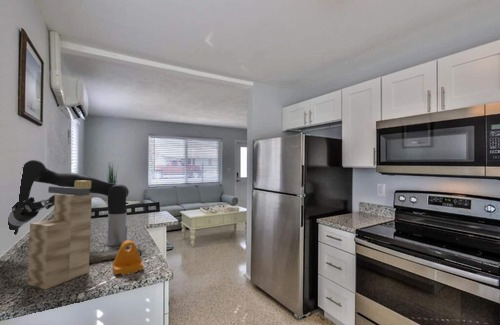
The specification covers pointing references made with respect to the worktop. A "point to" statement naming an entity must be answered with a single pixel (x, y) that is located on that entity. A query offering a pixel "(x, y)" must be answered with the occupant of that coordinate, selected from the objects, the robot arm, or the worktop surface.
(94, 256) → the long grey stone
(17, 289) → the worktop surface
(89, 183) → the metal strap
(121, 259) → the bracket
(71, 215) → the block
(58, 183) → the robot arm
